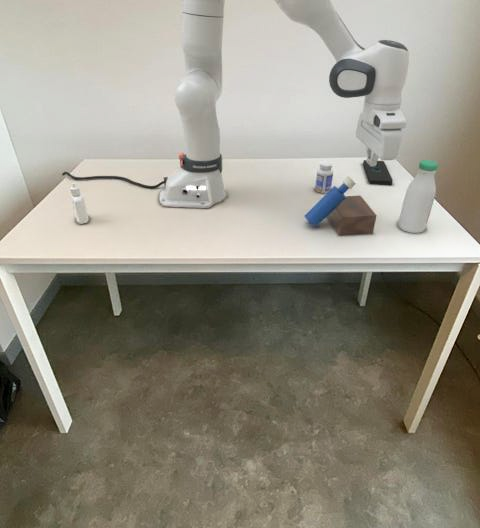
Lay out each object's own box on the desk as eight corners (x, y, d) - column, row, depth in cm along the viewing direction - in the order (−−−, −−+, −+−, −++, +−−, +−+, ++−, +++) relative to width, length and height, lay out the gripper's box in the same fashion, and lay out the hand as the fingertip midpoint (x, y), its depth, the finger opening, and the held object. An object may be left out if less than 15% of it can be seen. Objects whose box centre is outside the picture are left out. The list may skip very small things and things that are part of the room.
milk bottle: (421, 236, 116) (441, 170, 105) (394, 229, 120) (411, 164, 108) (427, 225, 122) (447, 160, 110) (401, 218, 125) (417, 155, 113)
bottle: (305, 230, 119) (311, 182, 110) (301, 222, 123) (307, 175, 114) (350, 227, 120) (359, 180, 112) (345, 220, 124) (353, 173, 115)
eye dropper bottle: (72, 224, 122) (62, 187, 115) (79, 215, 126) (69, 179, 119) (86, 224, 121) (77, 187, 115) (93, 215, 126) (84, 179, 119)
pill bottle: (330, 187, 144) (333, 160, 138) (331, 193, 139) (335, 166, 134) (314, 186, 144) (317, 160, 138) (315, 193, 140) (318, 166, 134)
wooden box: (339, 235, 116) (342, 217, 113) (326, 214, 127) (328, 196, 124) (372, 233, 117) (376, 215, 114) (357, 212, 128) (360, 195, 124)
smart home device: (384, 160, 160) (393, 180, 144) (383, 164, 161) (392, 185, 145) (362, 159, 161) (369, 179, 145) (362, 163, 162) (368, 184, 146)
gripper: (354, 103, 112) (347, 152, 120) (384, 124, 95) (373, 179, 103) (376, 102, 113) (368, 151, 121) (410, 123, 96) (397, 178, 104)
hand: (370, 164), depth 112 cm, fingers closed
